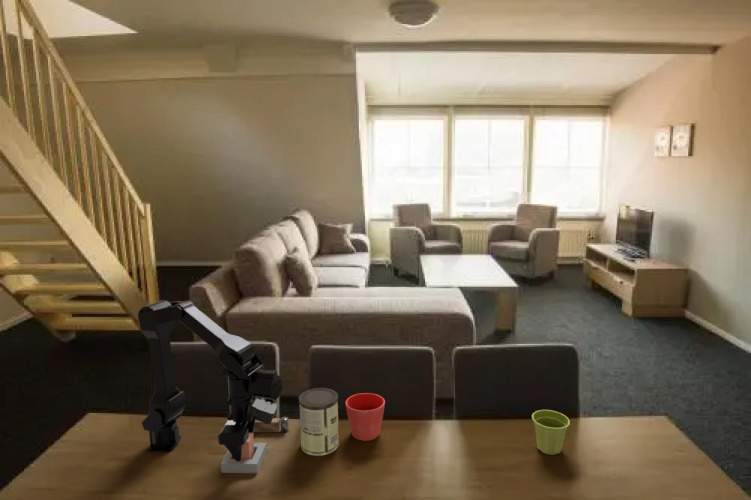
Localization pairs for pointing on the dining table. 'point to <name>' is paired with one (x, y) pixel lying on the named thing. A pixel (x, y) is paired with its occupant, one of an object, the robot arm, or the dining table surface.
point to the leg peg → (248, 447)
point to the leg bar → (267, 426)
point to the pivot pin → (284, 424)
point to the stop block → (230, 422)
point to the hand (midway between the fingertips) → (244, 449)
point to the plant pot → (550, 430)
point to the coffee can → (319, 421)
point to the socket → (245, 461)
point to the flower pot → (365, 415)
